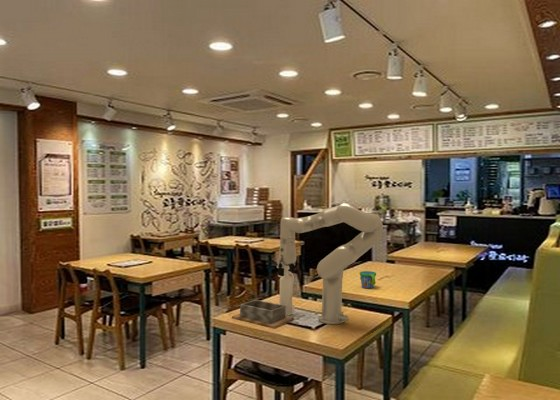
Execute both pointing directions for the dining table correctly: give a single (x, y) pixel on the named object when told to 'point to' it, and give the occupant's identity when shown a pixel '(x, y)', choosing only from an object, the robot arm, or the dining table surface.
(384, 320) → the dining table surface
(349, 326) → the dining table surface
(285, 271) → the fire extinguisher
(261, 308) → the caddy
